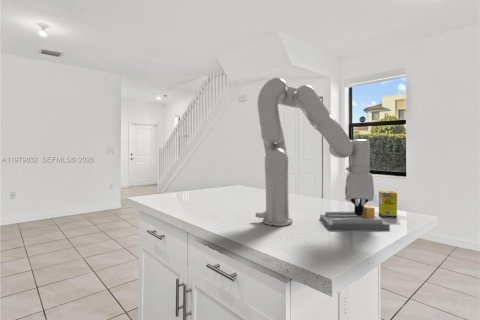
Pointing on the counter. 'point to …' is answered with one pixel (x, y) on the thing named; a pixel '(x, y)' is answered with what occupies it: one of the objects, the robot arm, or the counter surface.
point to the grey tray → (353, 221)
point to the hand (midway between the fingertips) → (358, 215)
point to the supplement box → (388, 204)
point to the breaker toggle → (368, 212)
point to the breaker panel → (329, 223)
